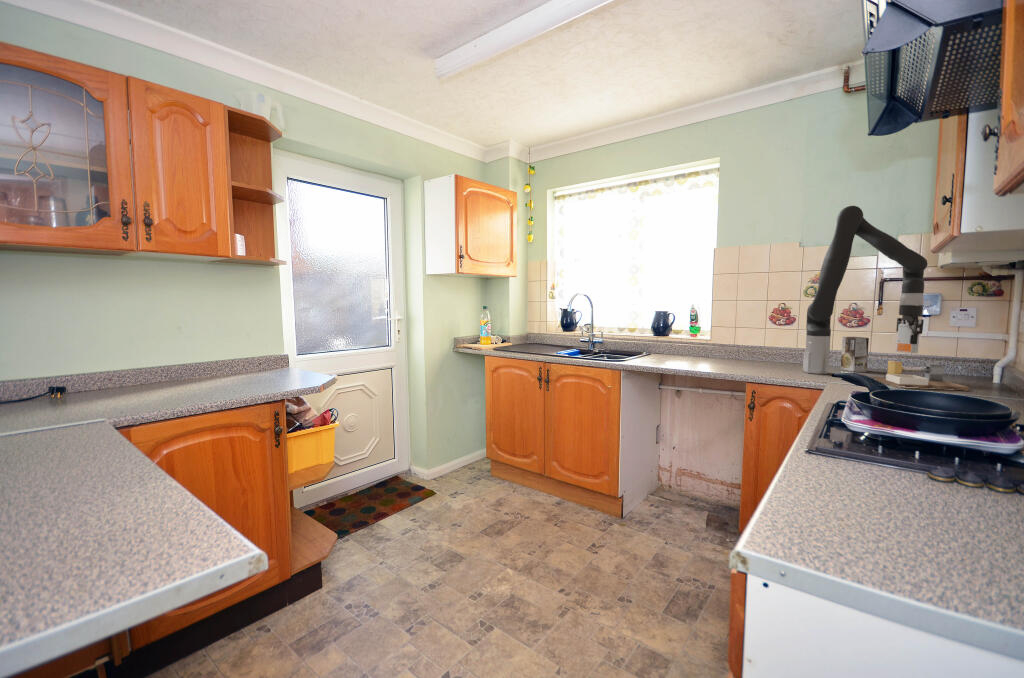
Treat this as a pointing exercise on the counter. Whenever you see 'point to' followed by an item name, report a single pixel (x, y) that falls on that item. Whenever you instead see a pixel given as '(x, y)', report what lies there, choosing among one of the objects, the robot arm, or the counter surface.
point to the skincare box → (905, 340)
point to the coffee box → (854, 354)
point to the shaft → (903, 368)
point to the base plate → (930, 385)
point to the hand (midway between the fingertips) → (907, 343)
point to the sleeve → (907, 379)
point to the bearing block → (934, 372)
